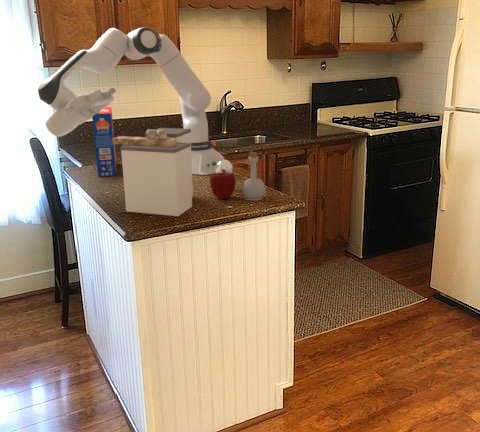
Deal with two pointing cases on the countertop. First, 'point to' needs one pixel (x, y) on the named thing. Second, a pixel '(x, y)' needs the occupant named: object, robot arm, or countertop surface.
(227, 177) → the apple
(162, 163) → the counter block
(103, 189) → the countertop surface
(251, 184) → the potion bottle
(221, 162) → the light bulb
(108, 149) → the pasta box
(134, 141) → the serving board
